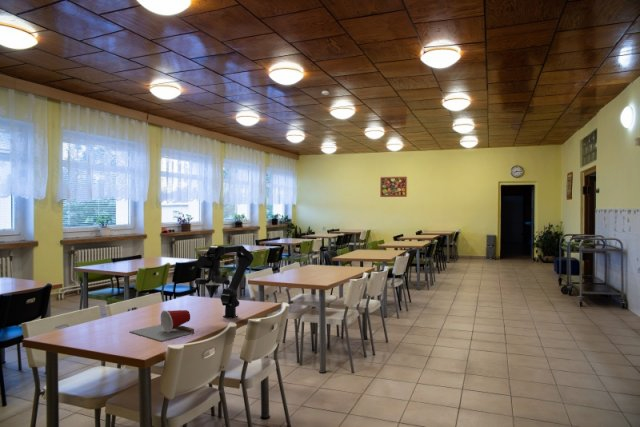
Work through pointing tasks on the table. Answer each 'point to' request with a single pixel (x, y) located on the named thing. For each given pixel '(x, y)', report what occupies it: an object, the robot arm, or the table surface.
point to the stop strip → (185, 328)
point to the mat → (160, 333)
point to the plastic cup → (174, 319)
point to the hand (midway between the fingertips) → (211, 297)
